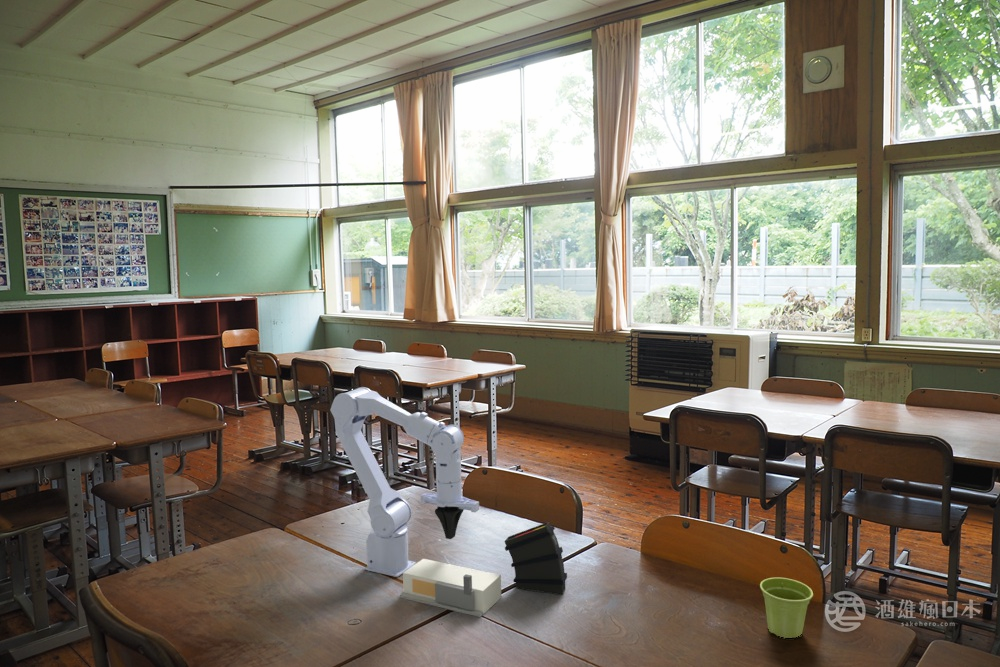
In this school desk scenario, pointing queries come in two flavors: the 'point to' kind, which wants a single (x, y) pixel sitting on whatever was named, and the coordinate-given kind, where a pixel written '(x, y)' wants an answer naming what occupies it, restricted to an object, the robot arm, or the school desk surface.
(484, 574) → the camera housing
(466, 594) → the side door
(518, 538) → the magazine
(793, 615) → the plant pot
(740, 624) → the school desk surface
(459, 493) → the robot arm
